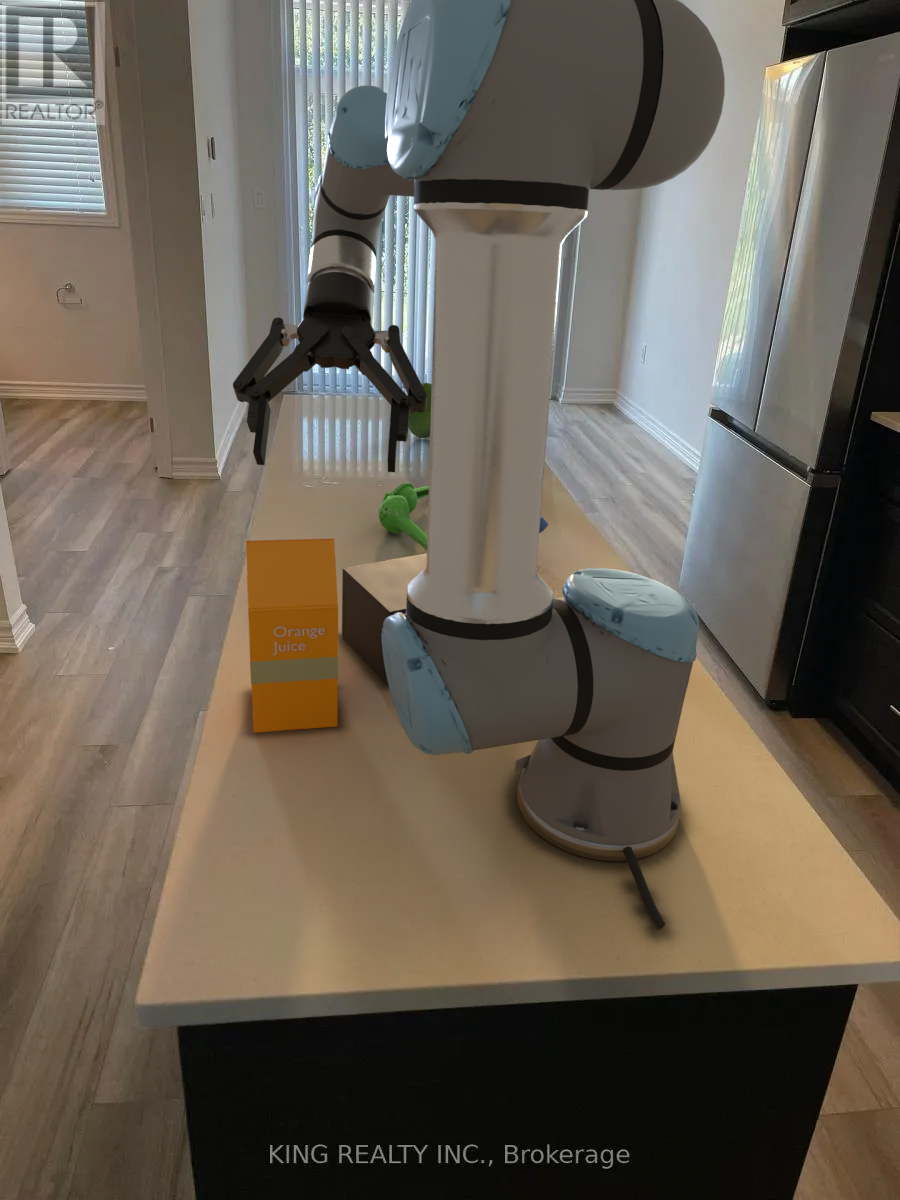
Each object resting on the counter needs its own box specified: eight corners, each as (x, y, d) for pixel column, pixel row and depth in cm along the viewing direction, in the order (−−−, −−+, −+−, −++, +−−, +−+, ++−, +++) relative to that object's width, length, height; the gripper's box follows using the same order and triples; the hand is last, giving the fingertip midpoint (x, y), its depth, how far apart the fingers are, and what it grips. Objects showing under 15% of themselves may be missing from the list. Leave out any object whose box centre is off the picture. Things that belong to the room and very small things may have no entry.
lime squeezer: (451, 568, 129) (454, 529, 126) (372, 564, 129) (373, 525, 126) (449, 493, 159) (451, 460, 156) (385, 489, 159) (386, 456, 156)
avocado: (446, 437, 192) (450, 383, 187) (427, 444, 186) (430, 388, 181) (417, 430, 196) (419, 376, 190) (397, 437, 190) (399, 382, 184)
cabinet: (441, 615, 116) (445, 549, 111) (492, 659, 106) (499, 589, 102) (341, 637, 109) (342, 567, 104) (387, 685, 99) (389, 612, 95)
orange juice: (338, 727, 91) (339, 554, 82) (252, 733, 89) (244, 556, 80) (330, 687, 98) (331, 523, 89) (251, 692, 96) (243, 525, 87)
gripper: (450, 319, 100) (444, 485, 93) (233, 305, 99) (210, 472, 92) (454, 275, 93) (448, 451, 86) (220, 260, 91) (194, 437, 85)
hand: (325, 463), depth 89 cm, fingers open, 13 cm apart
